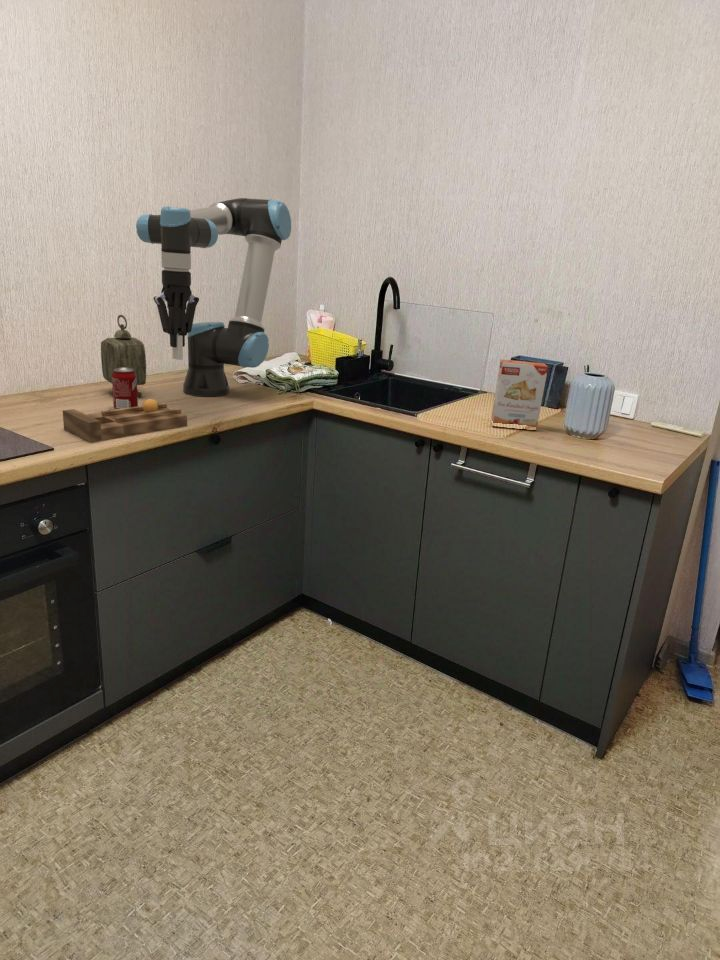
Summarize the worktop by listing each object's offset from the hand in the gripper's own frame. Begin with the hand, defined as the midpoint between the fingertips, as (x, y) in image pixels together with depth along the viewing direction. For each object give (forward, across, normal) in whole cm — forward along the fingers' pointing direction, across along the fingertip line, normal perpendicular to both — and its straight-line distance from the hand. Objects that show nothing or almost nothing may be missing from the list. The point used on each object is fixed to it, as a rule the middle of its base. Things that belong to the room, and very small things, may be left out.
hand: (177, 358), depth 181 cm
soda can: (+18, +7, -17) cm, 25 cm away
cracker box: (+17, -82, +62) cm, 104 cm away
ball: (+12, +9, 0) cm, 15 cm away
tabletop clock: (+18, -2, -34) cm, 38 cm away
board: (+18, +16, 0) cm, 24 cm away
